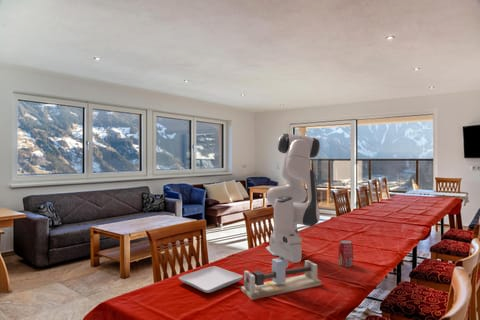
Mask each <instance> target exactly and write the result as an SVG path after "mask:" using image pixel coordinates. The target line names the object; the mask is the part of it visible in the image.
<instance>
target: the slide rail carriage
mask: <svg viewBox="0 0 480 320" xmlns="http://www.w3.org/2000/svg"><path fill="white" fill-rule="evenodd" d="M285 270H286V268H285V261H284V260H283V259H280V258H279V257H276V258H272V259H271V273H273V272H275V273H276V277H275V278H271V281H274V282H275V283H277V284H279V283H284V282H285V278H286V276H285Z"/></svg>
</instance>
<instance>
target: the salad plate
mask: <svg viewBox="0 0 480 320" xmlns="http://www.w3.org/2000/svg"><path fill="white" fill-rule="evenodd" d="M178 279H179V280H180V282H182V283H183V284H186V285H188V286H191V287H193V288H195V289H197V290H198V291H201V292H204V293H208V294H209V293H213V292H216V291H218V290H221V289H224V288H226V287H228V286H231V285H233V284H235V283H237V282H239V281H241V279H244V275H243V274H239V273H237V272H234V271H231V270H230V271H229V270H227V269H224V268H222V267H220V266H215V265H213V266H209V267H204V268H201V269H199V270H196V271H193V272H190V273H189V272H188V273H186V274H184V275H181V276H179V277H178Z"/></svg>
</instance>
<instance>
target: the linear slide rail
mask: <svg viewBox="0 0 480 320" xmlns="http://www.w3.org/2000/svg"><path fill="white" fill-rule="evenodd" d="M300 273H304V274H300ZM296 274H300V275H296ZM291 275H295V276H291ZM287 276H290V277H287ZM275 277H276V273H275V272H273V273H272V272H269V273H268V272H267V273H263V272H262V271H260V270H253V271H252V273H251V272H250V271H249V270H243V286H240V291H241V292H243V294H245V295H246V296H247V297H248V298H249V299H250V300H252V301H253V300H257V299H261V298H265V297H266V298H267V297H270V296H275V295H279V294H285V293H291V292H294V291H298V290H299V291H300V290H304V289H308V288H312V287H313V288H314V287H318V286H322V285H323V284H322V282H323V281H322V280H321V279H319V278H318V264H316V263H314V262H313V261H310V260H308V259H307V260H304V266H302V267H296V268H291V269H285V282H284V283H279V284H277V283H275V282H274V281H273V280H269V279H272V278H275ZM265 280H267V281H265Z"/></svg>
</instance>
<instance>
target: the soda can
mask: <svg viewBox="0 0 480 320" xmlns="http://www.w3.org/2000/svg"><path fill="white" fill-rule="evenodd" d="M338 264H339V265H340V266H342V267H344V268H346V267H347V268H349V267H351V266H353V265H354V246H353V242H352V241H350V240H348V239H347V240H344V239H342V240H340V241H339V243H338Z"/></svg>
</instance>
